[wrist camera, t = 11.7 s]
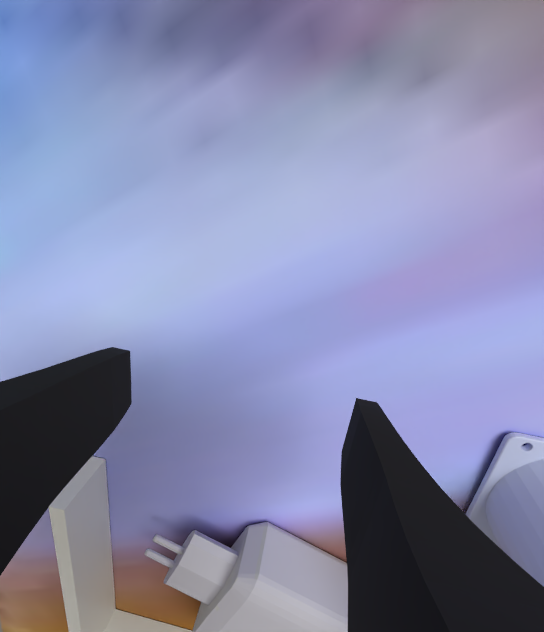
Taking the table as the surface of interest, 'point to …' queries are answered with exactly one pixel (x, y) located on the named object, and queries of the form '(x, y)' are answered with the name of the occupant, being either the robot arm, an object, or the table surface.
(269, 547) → the charger
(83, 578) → the box
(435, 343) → the table surface
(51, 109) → the table surface
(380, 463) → the robot arm
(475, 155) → the table surface
